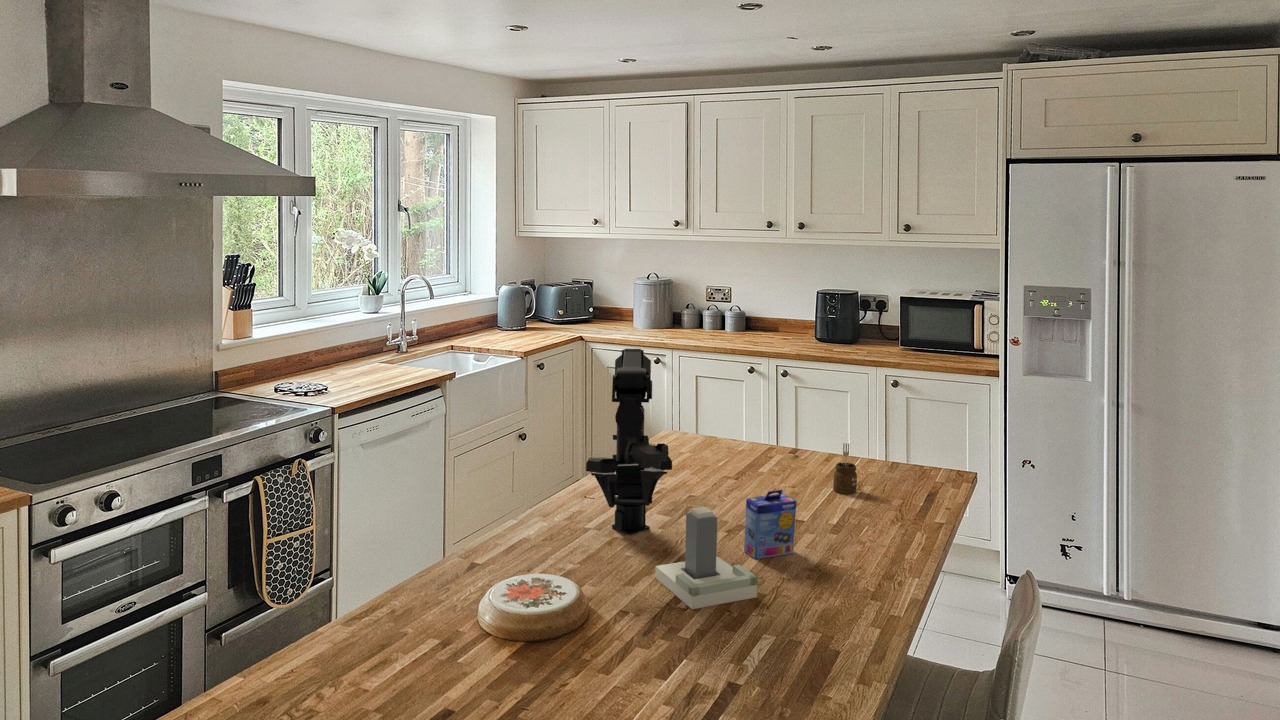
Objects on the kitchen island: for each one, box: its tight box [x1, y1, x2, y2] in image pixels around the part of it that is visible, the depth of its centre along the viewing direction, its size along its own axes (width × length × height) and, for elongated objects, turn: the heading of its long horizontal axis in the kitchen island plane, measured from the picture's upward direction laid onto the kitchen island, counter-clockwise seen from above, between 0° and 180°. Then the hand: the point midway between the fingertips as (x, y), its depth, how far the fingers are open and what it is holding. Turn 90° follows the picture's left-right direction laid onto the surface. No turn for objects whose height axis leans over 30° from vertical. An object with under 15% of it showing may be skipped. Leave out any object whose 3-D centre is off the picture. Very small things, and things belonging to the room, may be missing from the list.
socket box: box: [655, 555, 759, 610], centre depth 190 cm, size 16×14×4 cm
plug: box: [684, 506, 718, 579], centre depth 191 cm, size 4×4×15 cm
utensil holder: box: [833, 442, 858, 495], centre depth 252 cm, size 6×6×12 cm
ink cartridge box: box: [743, 489, 797, 560], centre depth 208 cm, size 10×6×14 cm, turn 114°
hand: (629, 505), depth 201 cm, fingers open, 9 cm apart
